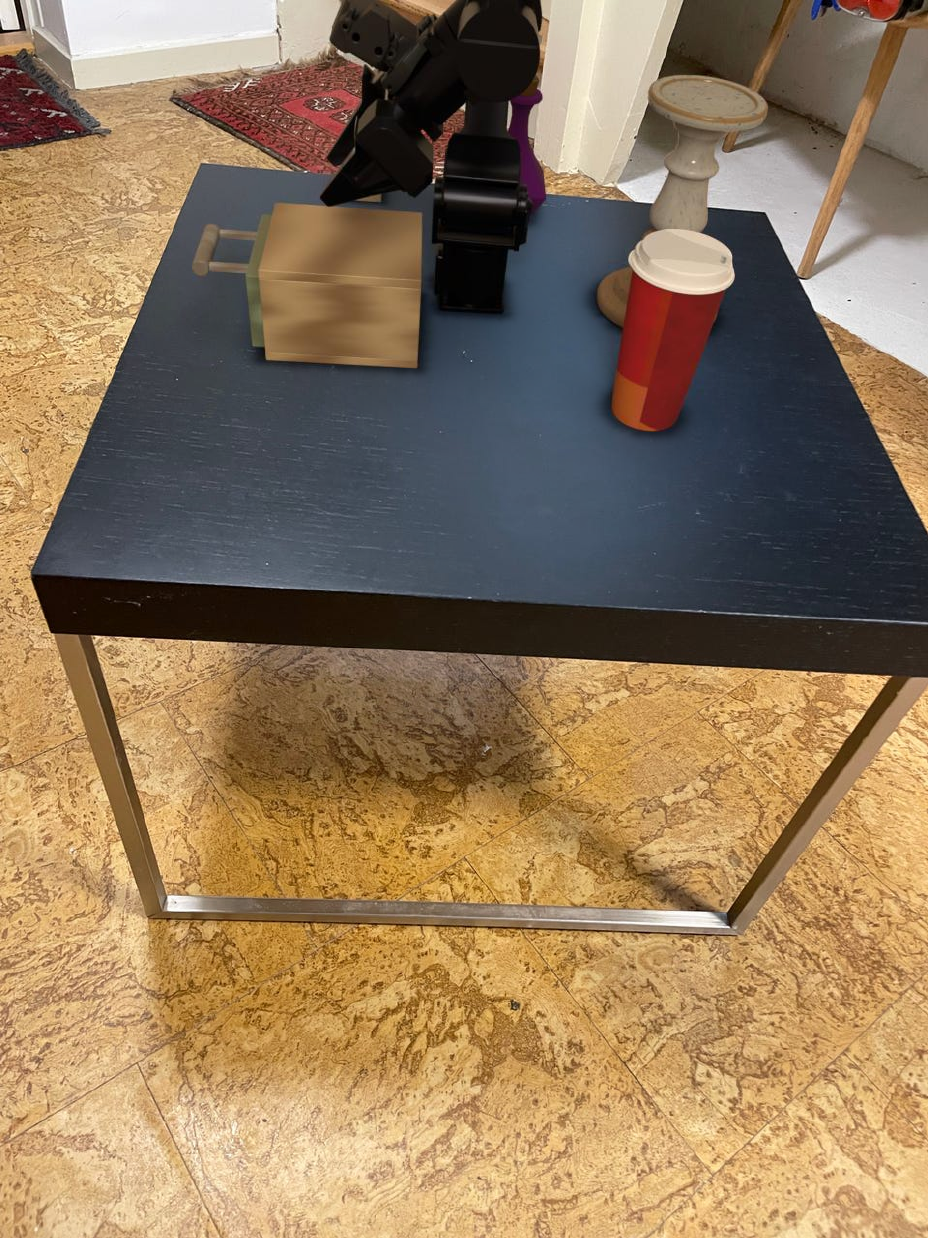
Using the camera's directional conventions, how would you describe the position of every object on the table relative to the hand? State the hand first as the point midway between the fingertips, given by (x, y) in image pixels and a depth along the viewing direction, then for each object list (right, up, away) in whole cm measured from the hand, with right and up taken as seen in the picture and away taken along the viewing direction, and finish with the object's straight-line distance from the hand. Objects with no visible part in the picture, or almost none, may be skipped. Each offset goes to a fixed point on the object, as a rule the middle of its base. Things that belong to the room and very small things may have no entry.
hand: (327, 181), depth 80 cm
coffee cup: (+28, -18, +5) cm, 33 cm away
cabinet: (0, -9, +10) cm, 14 cm away
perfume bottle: (+17, +10, +30) cm, 35 cm away
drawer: (-4, -8, +9) cm, 13 cm away
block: (0, +12, +30) cm, 32 cm away
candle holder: (+31, -5, +17) cm, 36 cm away
